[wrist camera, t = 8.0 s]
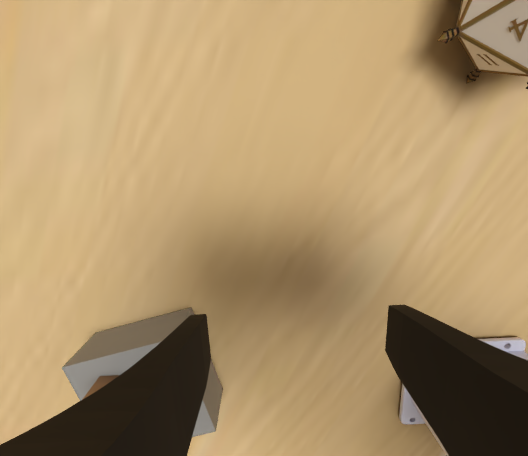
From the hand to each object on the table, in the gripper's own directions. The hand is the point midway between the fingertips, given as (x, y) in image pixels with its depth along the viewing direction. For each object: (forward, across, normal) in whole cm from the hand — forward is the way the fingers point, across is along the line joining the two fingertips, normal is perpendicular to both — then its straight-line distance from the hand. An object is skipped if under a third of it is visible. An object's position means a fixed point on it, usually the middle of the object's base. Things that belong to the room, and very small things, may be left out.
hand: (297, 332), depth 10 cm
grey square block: (+10, +10, +9) cm, 17 cm away
